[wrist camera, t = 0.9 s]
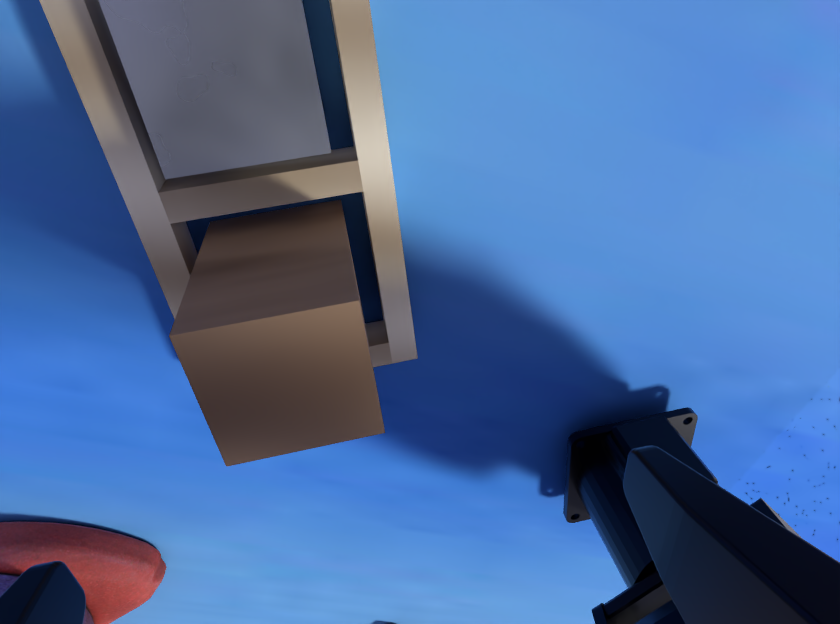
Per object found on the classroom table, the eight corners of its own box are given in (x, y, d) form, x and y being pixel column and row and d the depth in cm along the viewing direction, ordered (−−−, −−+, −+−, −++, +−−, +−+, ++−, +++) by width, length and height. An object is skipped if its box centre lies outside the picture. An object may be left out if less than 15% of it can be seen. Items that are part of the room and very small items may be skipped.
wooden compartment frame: (410, 335, 23) (417, 358, 21) (214, 373, 22) (208, 400, 20) (281, -584, 11) (279, -663, 9) (-168, -572, 10) (-239, -657, 8)
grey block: (326, 126, 18) (331, 152, 15) (184, 148, 17) (165, 179, 15) (295, -38, 15) (294, -40, 13) (127, -18, 15) (92, -15, 12)
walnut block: (362, 307, 21) (385, 432, 16) (246, 328, 21) (226, 466, 15) (340, 199, 19) (358, 300, 13) (210, 221, 19) (169, 335, 13)
